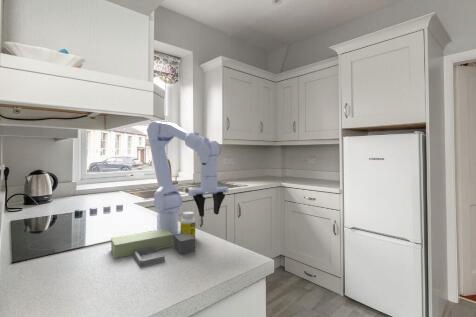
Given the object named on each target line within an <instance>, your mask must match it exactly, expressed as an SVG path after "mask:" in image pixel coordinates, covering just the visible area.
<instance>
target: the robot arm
mask: <svg viewBox="0 0 476 317" xmlns="http://www.w3.org/2000/svg"><path fill="white" fill-rule="evenodd" d="M146 132H147V133H146V134H147V138H148V143H149V148H150V153H151V157H152V161H153V166H154V172H155V176H156V181H157V186H158V188H157V189H156V191H155V192H154V193H153V197H154V200H153V205H154V208H155V210H156V211H157V215H156V230H161V229H167V230H168V231H169V232H170V233H172V234H173V237H174V236H176V235H180V232H181V230H179V229H178V228H179V210H180V208H181V207H182V204H183V198H182V195H181V193H180V191H179V189H178V188H177V187H176V186H175V185H174V184H173V180H172V176H171V171H170V167H169V166H170V165H169V161H168V157H167V153H166V146H167V145H169V143H170V142H171V141H172V139H174V138H177V139H179V140H181V141H183V142H184V144H185V146H186V147H187V148H189V149H191V150H192V151H195V152H196V153H197V156H198V157H199V162H200V188H194V189H193V188H192V189H188V190H187V191H188V192H187V193H188V197H193V198H192V199H193V200H194V202H195V204H196V207H197V211H198V215H199V216H200V217H201V218H203V217H204V216H205V203H206V197H205V196H206V195H212V201H213V214H215V215H219V212H220V209H221V205H222V203H223V200H224V199H225V197H226V194H228V193H229V187H228V186H218V157H219V156H220V155H221V151H222V148H221V145H220V144H219V142H218V141H216V140H211V141H210V139H209V137H207V136H206V137H204V136H202V135H200V132H199V131H198V132H197V131H194V132H193V131H191V132H188V131H186V130H185V129H183V128H182V127H180V126H178V124H176V123H173V122H162V121H157V120H152V122H151V121H150V122H149V124H148V126H147V129H146ZM204 195H205V196H204Z"/></svg>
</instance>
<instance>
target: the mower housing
mask: <svg viewBox="0 0 476 317" xmlns="http://www.w3.org/2000/svg"><path fill="white" fill-rule="evenodd" d="M110 240H111V241H110V243H111V247H110V248H111V252H112V254H113V257H114V259H117V258H122V257H127V256H132V255H133V257H134V259H135V261H136V262H137V264H138V266H139V267H140V268H142V267H146V266H151V265H155V264H159V263H163V262H166V258H165V255H160V256H155V257H151V258H145V259H143V258H142V257H141V256H142V255H146V254H147V255H148V254H151V253H155V252H157V250H160V249H164V248H171V247H174V236H173V234H172V233H170V232H169V231H168V230H167V229H161V230H157V229H154V230H151V231H150V230H149V231H145V232H144V231H143V232H139V233H132V234H127V235H121V236H114V237H111V238H110Z"/></svg>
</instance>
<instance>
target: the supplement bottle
mask: <svg viewBox="0 0 476 317" xmlns="http://www.w3.org/2000/svg"><path fill="white" fill-rule="evenodd" d="M194 216H195V214H194V212H193V211H185V212H184V211H183V212H182V218H181V219H180V234H179V235H181V234H186V233H188V234H190V235H191V236H193V237H194V238H195V239H196V218H194Z"/></svg>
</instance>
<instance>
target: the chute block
mask: <svg viewBox="0 0 476 317" xmlns="http://www.w3.org/2000/svg"><path fill="white" fill-rule="evenodd" d="M173 249H174V251H176V252H177V253H178V255H180V256H183V255H188V254H191V253H195V252H196V237H195V238H194V237H193V236H191V235H190V234H188V233H186V234H181V235H180V234H179V235H174V236H173Z"/></svg>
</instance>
